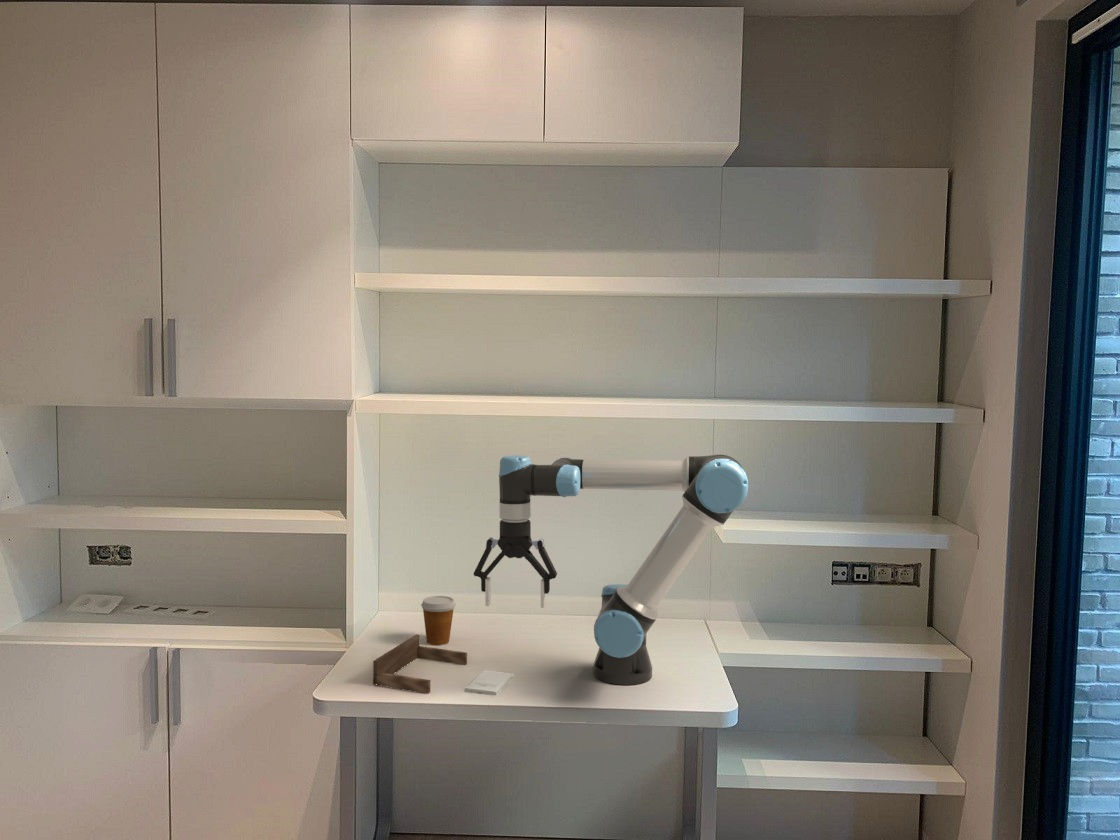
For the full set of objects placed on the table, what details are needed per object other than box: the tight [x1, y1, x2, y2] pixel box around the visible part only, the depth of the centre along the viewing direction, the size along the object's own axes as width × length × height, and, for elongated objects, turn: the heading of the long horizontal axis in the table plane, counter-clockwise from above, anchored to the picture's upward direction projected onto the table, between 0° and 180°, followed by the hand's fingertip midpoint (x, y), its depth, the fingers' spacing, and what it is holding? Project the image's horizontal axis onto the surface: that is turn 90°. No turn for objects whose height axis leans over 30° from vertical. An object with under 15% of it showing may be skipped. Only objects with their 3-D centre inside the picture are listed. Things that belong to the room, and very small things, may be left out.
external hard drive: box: [464, 669, 514, 697], centre depth 213 cm, size 2×8×12 cm
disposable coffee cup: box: [420, 595, 456, 646], centre depth 244 cm, size 10×10×12 cm
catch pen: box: [372, 634, 468, 694], centre depth 219 cm, size 15×22×6 cm
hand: (515, 605), depth 211 cm, fingers open, 13 cm apart
